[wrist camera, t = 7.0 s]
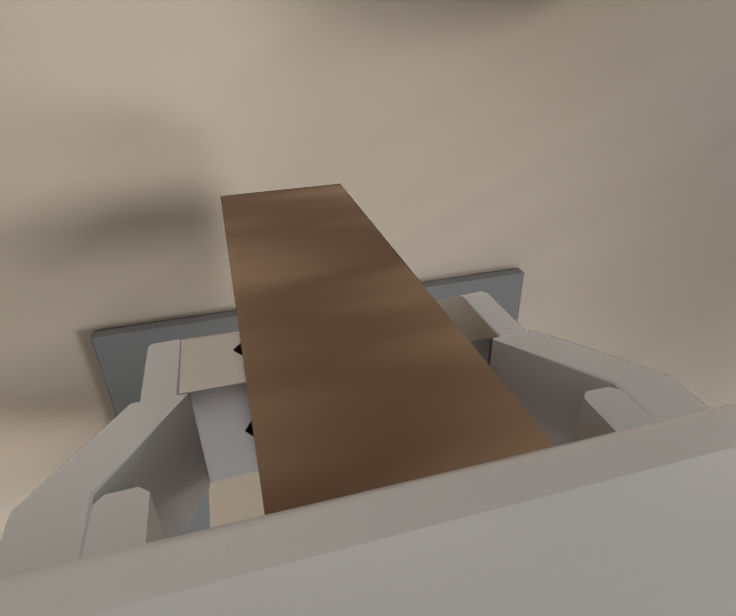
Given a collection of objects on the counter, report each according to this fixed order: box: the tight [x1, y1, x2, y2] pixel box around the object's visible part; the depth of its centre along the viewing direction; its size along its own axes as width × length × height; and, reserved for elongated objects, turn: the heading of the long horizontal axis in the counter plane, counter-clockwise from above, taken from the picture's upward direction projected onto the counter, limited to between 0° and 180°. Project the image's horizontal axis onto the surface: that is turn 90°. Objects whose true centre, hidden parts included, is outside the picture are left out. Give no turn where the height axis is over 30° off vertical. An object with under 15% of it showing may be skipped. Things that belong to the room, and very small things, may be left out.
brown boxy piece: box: [221, 184, 555, 515], centre depth 10 cm, size 6×4×10 cm, turn 91°
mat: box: [91, 268, 524, 535], centre depth 21 cm, size 15×11×1 cm
